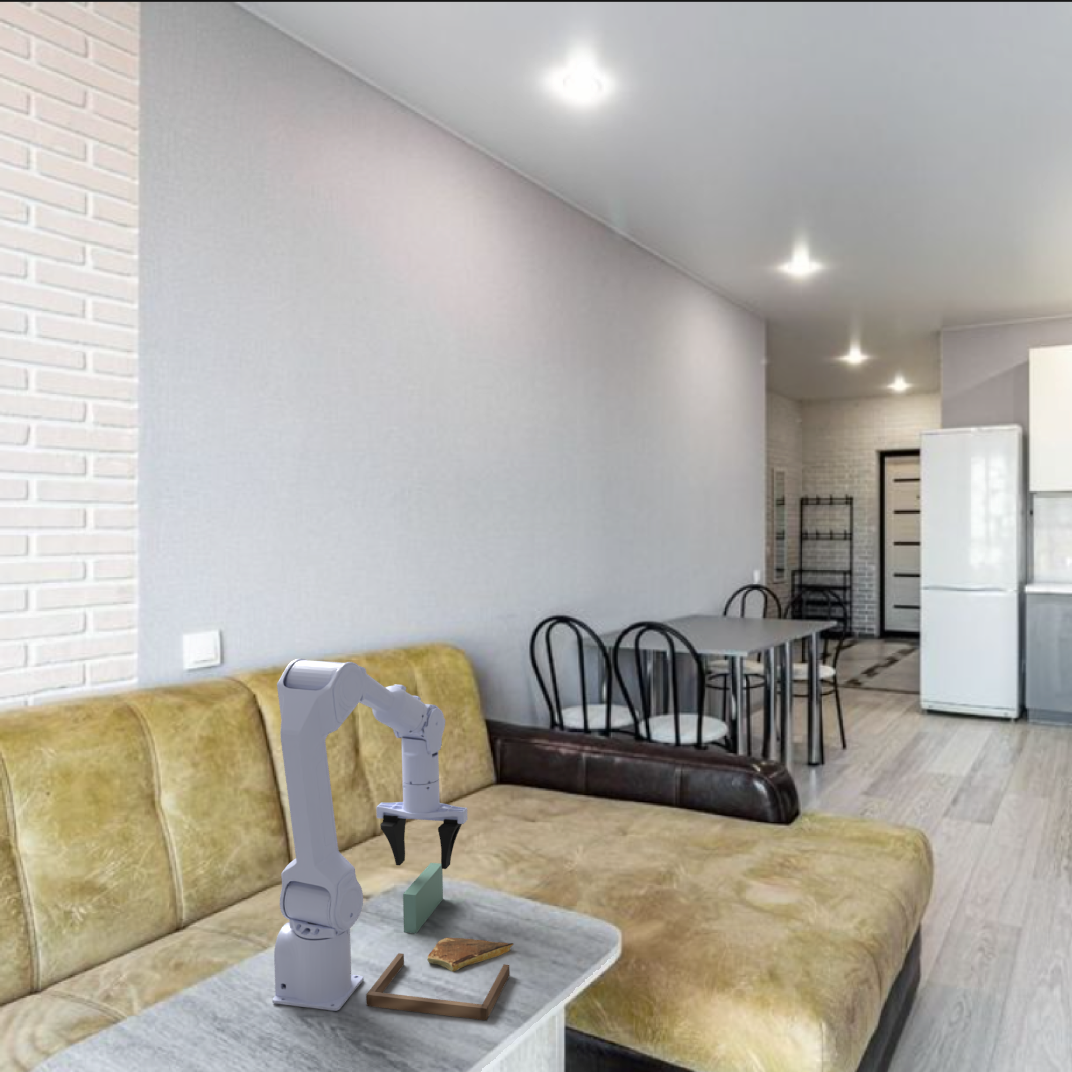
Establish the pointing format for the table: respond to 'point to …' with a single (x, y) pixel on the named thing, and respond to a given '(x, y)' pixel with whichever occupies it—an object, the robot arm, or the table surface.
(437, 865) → the bar
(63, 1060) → the table surface
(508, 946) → the shard
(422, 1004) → the walnut frame
